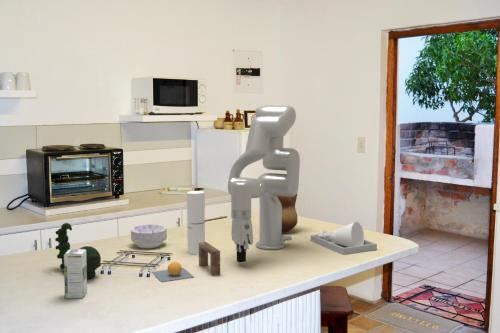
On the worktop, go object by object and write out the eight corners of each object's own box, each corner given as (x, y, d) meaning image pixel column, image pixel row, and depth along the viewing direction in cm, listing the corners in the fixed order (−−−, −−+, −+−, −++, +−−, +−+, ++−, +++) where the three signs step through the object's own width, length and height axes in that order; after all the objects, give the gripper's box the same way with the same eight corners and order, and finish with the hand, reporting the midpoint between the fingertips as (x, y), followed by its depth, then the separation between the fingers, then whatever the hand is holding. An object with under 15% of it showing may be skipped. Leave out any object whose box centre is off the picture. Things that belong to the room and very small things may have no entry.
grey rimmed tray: (341, 236, 248) (342, 231, 248) (376, 249, 225) (376, 244, 225) (310, 240, 240) (310, 235, 240) (343, 254, 218) (343, 248, 218)
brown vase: (298, 235, 251) (298, 182, 248) (269, 235, 251) (269, 182, 248) (296, 228, 265) (296, 178, 262) (269, 228, 265) (269, 178, 262)
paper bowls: (142, 252, 221) (142, 233, 220) (124, 245, 232) (124, 227, 232) (173, 246, 231) (173, 228, 230) (155, 239, 242) (154, 222, 242)
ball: (170, 276, 193) (181, 267, 195) (174, 280, 189) (186, 271, 190) (163, 265, 192) (174, 257, 193) (167, 269, 187) (179, 260, 189)
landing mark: (183, 268, 200) (183, 267, 200) (194, 277, 189) (194, 276, 189) (151, 272, 195) (151, 271, 195) (161, 282, 184) (161, 281, 184)
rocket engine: (317, 220, 237) (353, 216, 226) (329, 233, 244) (365, 230, 233) (311, 243, 231) (349, 240, 220) (324, 256, 238) (361, 254, 227)
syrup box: (69, 292, 174) (67, 248, 172) (87, 292, 174) (86, 248, 172) (64, 299, 168) (62, 253, 166) (84, 298, 168) (82, 253, 167)
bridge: (206, 264, 205) (206, 241, 204) (220, 274, 192) (220, 250, 191) (198, 265, 204) (198, 242, 203) (212, 275, 191) (212, 251, 190)
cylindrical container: (202, 254, 218) (201, 193, 215) (185, 253, 219) (184, 193, 216) (207, 250, 225) (206, 191, 222) (190, 249, 226) (190, 190, 223)
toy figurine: (51, 275, 197) (88, 284, 180) (46, 224, 196) (83, 228, 179) (74, 269, 204) (112, 277, 187) (70, 220, 203) (108, 223, 186)
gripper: (259, 216, 196) (259, 265, 198) (242, 209, 210) (242, 255, 212) (240, 218, 193) (240, 268, 195) (224, 211, 206) (224, 257, 208)
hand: (241, 261), depth 203 cm, fingers closed
